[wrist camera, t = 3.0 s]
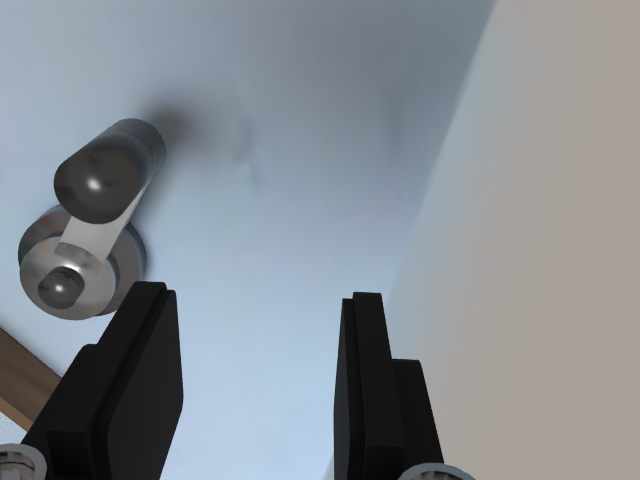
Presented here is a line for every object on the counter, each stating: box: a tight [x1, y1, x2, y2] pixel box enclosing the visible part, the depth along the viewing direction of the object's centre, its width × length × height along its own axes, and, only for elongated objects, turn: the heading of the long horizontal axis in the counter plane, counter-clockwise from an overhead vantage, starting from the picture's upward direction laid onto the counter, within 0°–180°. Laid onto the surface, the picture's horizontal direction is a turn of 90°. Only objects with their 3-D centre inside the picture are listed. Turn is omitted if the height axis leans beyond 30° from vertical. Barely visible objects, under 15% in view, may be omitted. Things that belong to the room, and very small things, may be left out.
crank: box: [20, 118, 166, 320], centre depth 24 cm, size 12×4×6 cm, turn 147°
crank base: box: [18, 204, 146, 316], centre depth 29 cm, size 6×6×2 cm
